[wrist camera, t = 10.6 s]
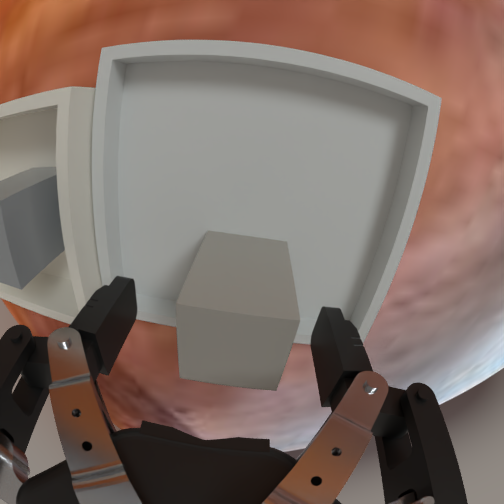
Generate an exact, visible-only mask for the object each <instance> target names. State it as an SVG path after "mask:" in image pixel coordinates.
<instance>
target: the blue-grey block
mask: <svg viewBox="0 0 504 504" xmlns="http://www.w3.org/2000/svg"><path fill="white" fill-rule="evenodd" d="M64 250H65V247H64V241H63V235H62V228H61V220H60V211H59V201H58V189H57V171H56V166H54V167H34V168H31V169H28V170H25V171H23V172H20V173H18V174H15V175H13V176H11V177H8V178H6V179H3V180H1V181H0V283H3V284H6V285H9V286H12V287H15V288H18V289H21V290H22V289H23V288H24V287H25V286H26V285H27V284H28V283H29V282H30V281H31V280H32V279H33V278H34V277H35V276H36V275H37V274H39V273H40V272H41V271H42V270H43V269H44V268H45V267H46V266H47V265H48V264H49V263H51V262H52V261H53V260H54V259H55V258H56V257H57V256H59V255H60V254H61V253H62V252H63V251H64Z"/></svg>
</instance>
